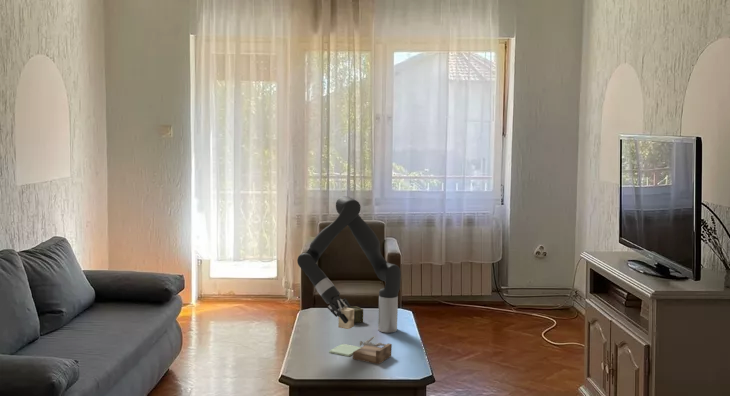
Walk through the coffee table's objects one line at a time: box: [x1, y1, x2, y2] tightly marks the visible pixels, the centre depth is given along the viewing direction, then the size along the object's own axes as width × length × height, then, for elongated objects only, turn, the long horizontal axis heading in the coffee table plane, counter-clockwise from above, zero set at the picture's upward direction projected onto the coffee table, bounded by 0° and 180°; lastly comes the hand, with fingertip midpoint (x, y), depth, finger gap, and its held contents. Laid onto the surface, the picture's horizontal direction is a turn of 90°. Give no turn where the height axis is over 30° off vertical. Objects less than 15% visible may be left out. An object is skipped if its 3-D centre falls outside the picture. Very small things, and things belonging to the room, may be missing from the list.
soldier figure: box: [359, 335, 388, 347], centre depth 324 cm, size 8×5×12 cm
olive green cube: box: [347, 305, 364, 324], centre depth 370 cm, size 7×7×7 cm
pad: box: [328, 343, 361, 357], centre depth 322 cm, size 12×10×1 cm
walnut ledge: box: [352, 343, 393, 365], centre depth 313 cm, size 12×12×6 cm
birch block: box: [338, 308, 355, 330], centre depth 320 cm, size 5×5×8 cm
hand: (350, 320), depth 320 cm, fingers closed on birch block, 5 cm apart
